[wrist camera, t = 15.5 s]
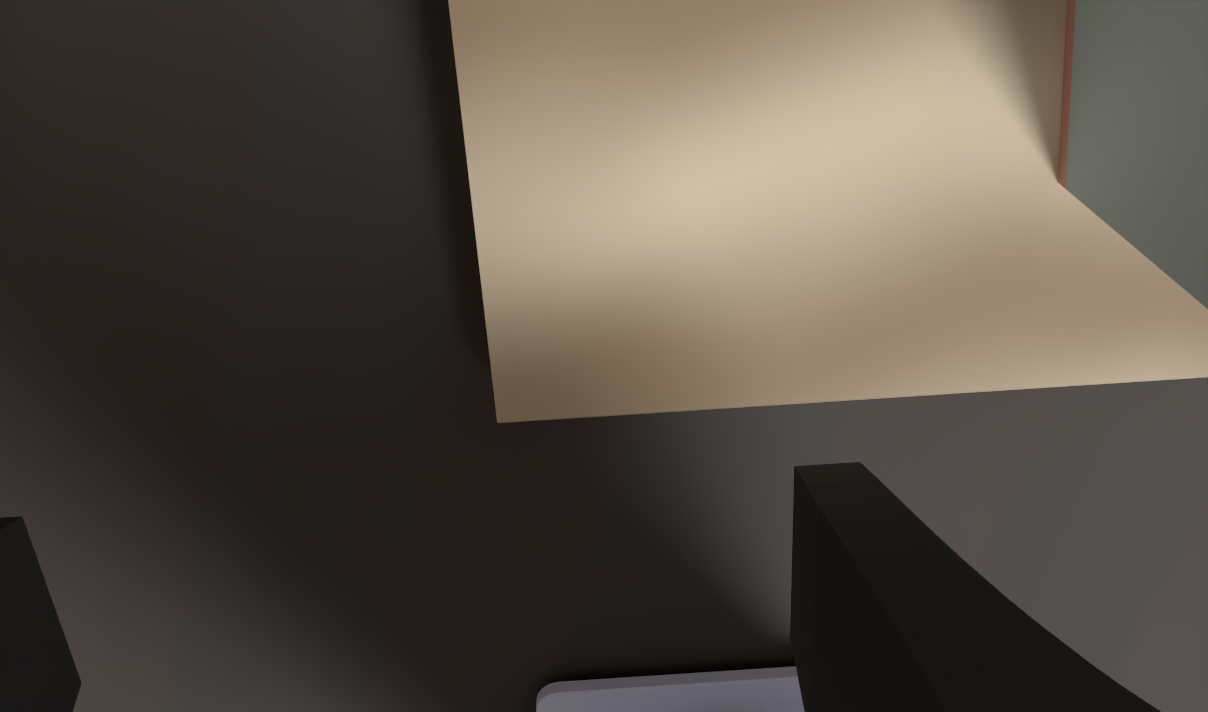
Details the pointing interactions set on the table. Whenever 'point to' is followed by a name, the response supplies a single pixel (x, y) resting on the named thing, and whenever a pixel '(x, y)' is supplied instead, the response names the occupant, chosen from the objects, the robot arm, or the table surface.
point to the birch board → (789, 208)
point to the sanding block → (1141, 127)
